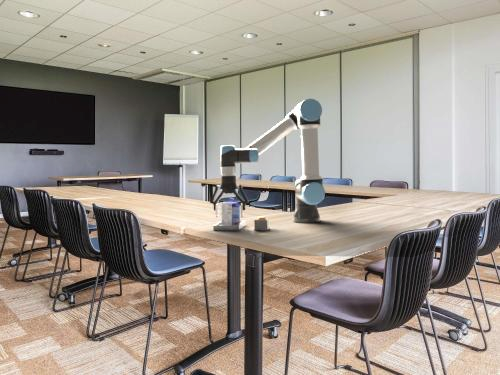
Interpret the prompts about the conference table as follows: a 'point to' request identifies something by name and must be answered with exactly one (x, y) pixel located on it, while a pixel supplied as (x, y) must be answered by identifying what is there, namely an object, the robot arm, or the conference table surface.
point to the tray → (229, 226)
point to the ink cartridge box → (230, 213)
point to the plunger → (261, 218)
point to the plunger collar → (261, 224)
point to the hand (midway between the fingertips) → (229, 216)
